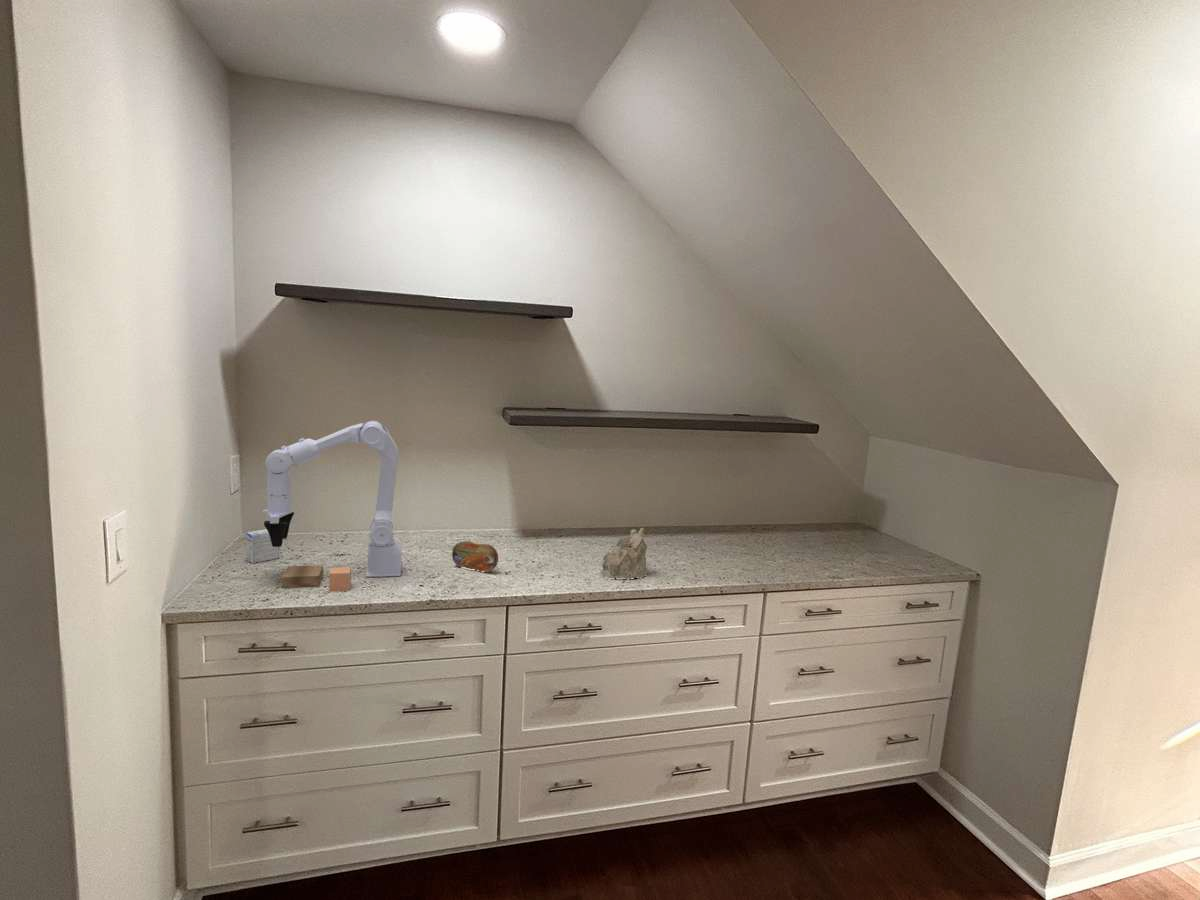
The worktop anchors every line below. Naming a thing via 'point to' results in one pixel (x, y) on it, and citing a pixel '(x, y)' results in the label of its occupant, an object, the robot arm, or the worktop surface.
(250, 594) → the worktop surface
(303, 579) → the walnut block
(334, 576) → the terracotta cube
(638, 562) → the ceramic cottage
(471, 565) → the tin
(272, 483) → the robot arm
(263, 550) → the medicine box
